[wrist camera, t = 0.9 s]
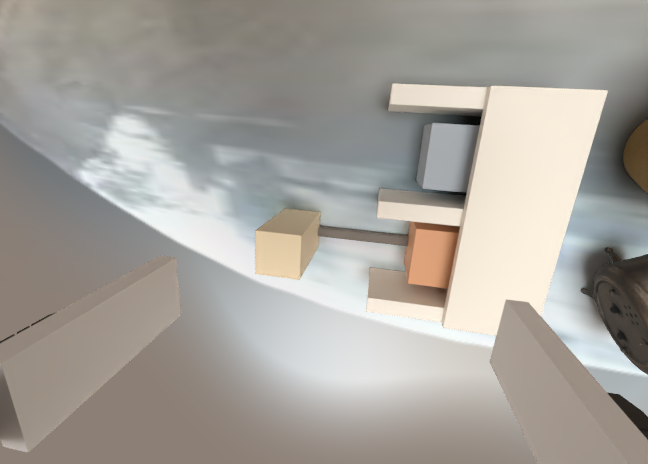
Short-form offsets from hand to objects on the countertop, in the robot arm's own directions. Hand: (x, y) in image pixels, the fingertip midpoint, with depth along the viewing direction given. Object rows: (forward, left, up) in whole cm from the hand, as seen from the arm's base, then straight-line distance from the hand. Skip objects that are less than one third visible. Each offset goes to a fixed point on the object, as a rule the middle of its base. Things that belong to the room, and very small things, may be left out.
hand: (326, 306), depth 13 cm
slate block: (-5, +9, -27) cm, 28 cm away
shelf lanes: (0, +9, -26) cm, 28 cm away
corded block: (+5, +1, -26) cm, 27 cm away
